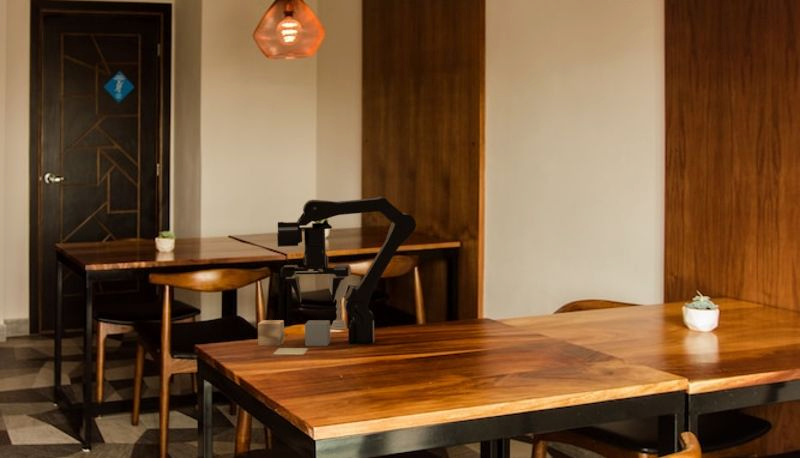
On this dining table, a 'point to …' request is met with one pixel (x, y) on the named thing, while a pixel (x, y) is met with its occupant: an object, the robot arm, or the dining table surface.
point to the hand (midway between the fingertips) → (316, 302)
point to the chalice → (338, 300)
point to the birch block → (270, 332)
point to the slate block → (317, 333)
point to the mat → (290, 351)
